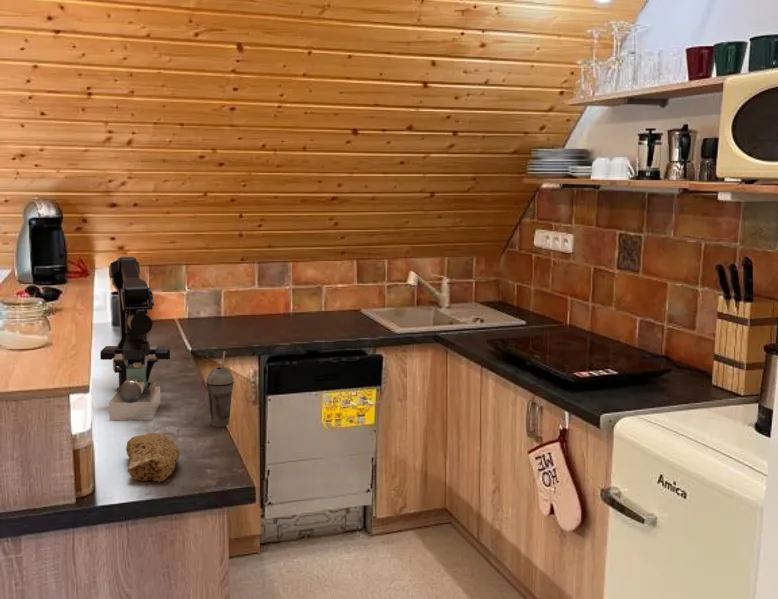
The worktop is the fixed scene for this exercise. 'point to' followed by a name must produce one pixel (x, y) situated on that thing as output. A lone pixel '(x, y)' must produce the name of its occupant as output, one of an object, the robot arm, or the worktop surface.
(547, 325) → the worktop surface
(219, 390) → the beverage cup
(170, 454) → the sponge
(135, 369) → the green block with knob
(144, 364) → the robot arm
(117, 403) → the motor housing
